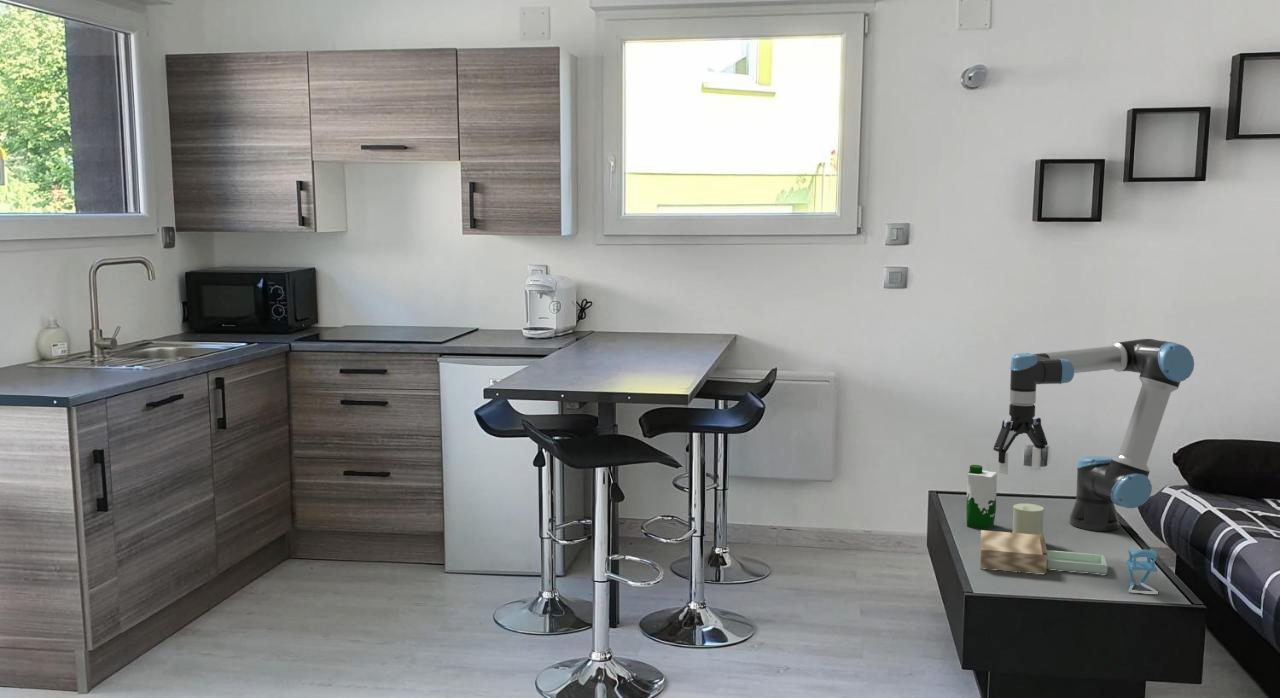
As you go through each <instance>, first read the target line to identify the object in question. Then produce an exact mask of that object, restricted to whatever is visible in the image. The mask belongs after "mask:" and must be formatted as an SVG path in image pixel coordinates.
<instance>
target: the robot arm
mask: <svg viewBox="0 0 1280 698" xmlns="http://www.w3.org/2000/svg"><path fill="white" fill-rule="evenodd" d="M1010 362H1011V363H1010V368H1009V369H1010V379H1009V380H1010V383H1009V384H1010V388H1009V392H1010V393H1009V402H1010V404H1009V406H1008V407H1009V409H1008V410H1009V412H1008V415H1009V416H1010V420H1005V419H1004V420H1002V424H1001V429H1000V431H999V433H998V435H997V438H996V441H995V443H994V446H993V448H992V449H993V451H995V452H997V453H998V463H999V471H998V472H999V473H1000V474H1004V475H1008V474H1009V473H1008V471H1009V470H1008V469H1009V452H1007V451H1008V450H1009V449H1010V447H1011V445H1012V443H1013V442H1014V441H1015V439H1016V438H1017V437H1018V436H1019V435H1023V434H1026V435H1027V436H1028V438H1029V440H1030V441H1031V443H1032V444H1033V446H1032V452H1031V456H1032V457H1031V469H1036V470H1041V458H1042V457H1043V455H1042V453H1043V450H1045V448H1046V447H1047V446H1048V444H1049V443H1048V440H1047V438H1046V435H1045V432H1044V429H1043V426H1042V419H1041V417H1036V405H1035V404H1036V401H1037V398H1036V397H1037V385H1049V384H1050V385H1053V384H1054V385H1055V384H1057V385H1058V384H1059V385H1062V384H1068V383H1070V382H1071V381H1072V380H1073V379H1074V376H1075V374H1079V373H1087V372H1088V373H1089V372H1098V371H1099V372H1100V371H1106V370H1107V371H1108V370H1109V371H1110V370H1114V371H1115V372H1119V373H1121V372H1132V373H1139V375H1138V378H1139V380H1140V382H1141V387H1140V391H1139V393H1138V396H1137V398H1136V402H1135V405H1134V408H1133V410H1132V413H1131V416H1130V420H1129V422H1128V426H1127V428H1126V432H1125V435H1124V437H1123V439H1122V443H1121V445H1120V449H1119V451H1118V454H1117V455H1116V456H1114V457H1112V456H1096V455H1095V456H1084V457H1083V456H1082V457H1081V458H1079V459H1078V461H1077V469H1076V470H1077V473H1076V475H1077V476H1076V477H1077V479H1076V496H1075V497H1076V498H1075V502H1074V505H1073V508H1072V510H1071V512H1070V514H1069V524H1070V525H1071V526H1073V527H1075V528H1079V529H1082V530H1087V531H1095V532H1111V531H1115V530H1118V529H1119V525H1120V519H1119V516H1118V513H1117V509H1116V507H1115V505H1116V506H1117V507H1118V506H1119V507H1121V508H1122V507H1123V508H1126V509H1135V508H1138V507H1140V506H1143V505H1144V504H1145V503H1146V502H1147V501H1148V500H1149V499H1150V497H1151V494H1152V491H1153V485H1152V484H1151V483H1152V482H1151V480H1150V479H1149V474H1150V472H1151V470H1150V468H1149V466H1148V465H1147V464H1148V462H1149V458H1150V455H1151V452H1152V449H1153V447H1154V443H1155V441H1156V437H1157V436H1158V432H1159V430H1160V426H1161V422H1162V420H1163V417H1164V416H1165V415H1164V414H1165V412H1166V408H1167V405H1168V404H1169V403H1168V402H1169V399H1170V396H1171V394H1172V392H1174V391H1176V390H1178V389H1179V387H1180V385H1181V382H1184V381H1186V380H1187V379H1189V378H1190V376H1192V373H1193V372H1194V367H1195V359H1194V356H1193V355H1192V352H1191V350H1190V349H1189V348H1188V347H1186V346H1184V345H1183V344H1180V343H1177V342H1172V341H1166V340H1165V341H1164V340H1160V339H1159V340H1158V339H1153V338H1141V339H1133V340H1125V341H1120V342H1113V343H1111V345H1108V346H1101V347H1090V348H1081V349H1080V348H1079V349H1070V350H1069V349H1068V350H1062V351H1050V352H1049V351H1048V352H1044V353H1043V352H1041V353H1029V352H1022V353H1021V352H1019V353H1015V354H1013V355H1012V357H1011V361H1010Z"/></svg>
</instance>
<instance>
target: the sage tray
mask: <svg viewBox="0 0 1280 698" xmlns="http://www.w3.org/2000/svg"><path fill="white" fill-rule="evenodd" d="M1107 563H1108V562H1107V560H1106V558H1105V555H1104V554H1095V553H1084V552H1073V551H1061V550H1050V549H1049V550H1048V549H1047V569H1056V570H1063V571H1076V572H1088V573H1099V574H1107V575H1108V564H1107Z"/></svg>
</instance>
